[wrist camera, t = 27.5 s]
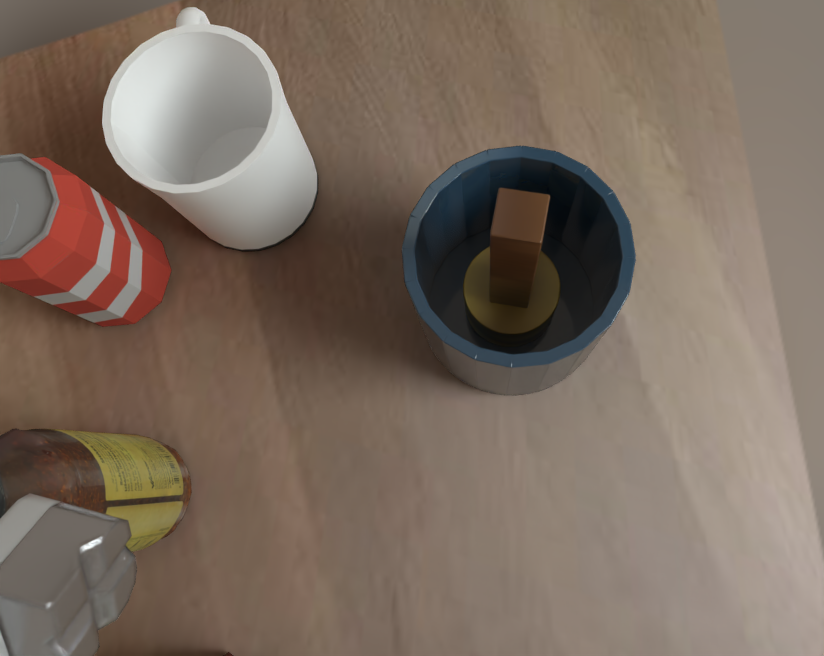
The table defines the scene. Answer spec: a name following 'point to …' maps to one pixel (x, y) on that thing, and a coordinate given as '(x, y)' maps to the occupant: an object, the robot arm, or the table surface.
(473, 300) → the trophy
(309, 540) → the table surface
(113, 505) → the sauce bottle
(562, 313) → the blue bin
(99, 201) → the beverage can
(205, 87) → the mug
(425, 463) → the table surface
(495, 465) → the table surface
